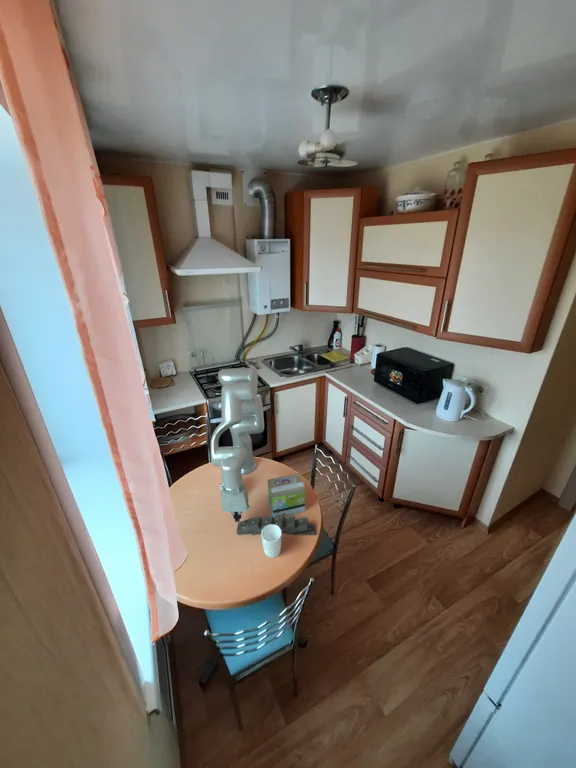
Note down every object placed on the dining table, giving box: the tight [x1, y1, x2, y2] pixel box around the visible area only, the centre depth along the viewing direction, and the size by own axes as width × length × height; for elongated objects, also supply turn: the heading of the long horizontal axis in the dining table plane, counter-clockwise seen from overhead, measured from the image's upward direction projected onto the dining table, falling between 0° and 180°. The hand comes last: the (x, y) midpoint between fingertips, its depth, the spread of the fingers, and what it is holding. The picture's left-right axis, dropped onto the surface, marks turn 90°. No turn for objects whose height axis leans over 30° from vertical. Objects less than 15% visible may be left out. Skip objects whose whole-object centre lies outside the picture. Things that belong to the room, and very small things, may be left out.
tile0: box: [236, 515, 262, 536], centre depth 132 cm, size 5×2×10 cm
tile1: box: [249, 514, 274, 536], centre depth 132 cm, size 5×2×10 cm
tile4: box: [283, 517, 309, 535], centre depth 132 cm, size 5×2×10 cm
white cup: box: [260, 524, 283, 559], centre depth 123 cm, size 8×8×10 cm
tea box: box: [267, 473, 306, 518], centre depth 141 cm, size 15×10×15 cm
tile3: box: [281, 514, 296, 533], centre depth 132 cm, size 5×2×10 cm
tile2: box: [273, 515, 285, 529], centre depth 132 cm, size 5×2×10 cm
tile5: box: [291, 523, 317, 536], centre depth 133 cm, size 5×2×10 cm
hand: (237, 519), depth 131 cm, fingers closed
